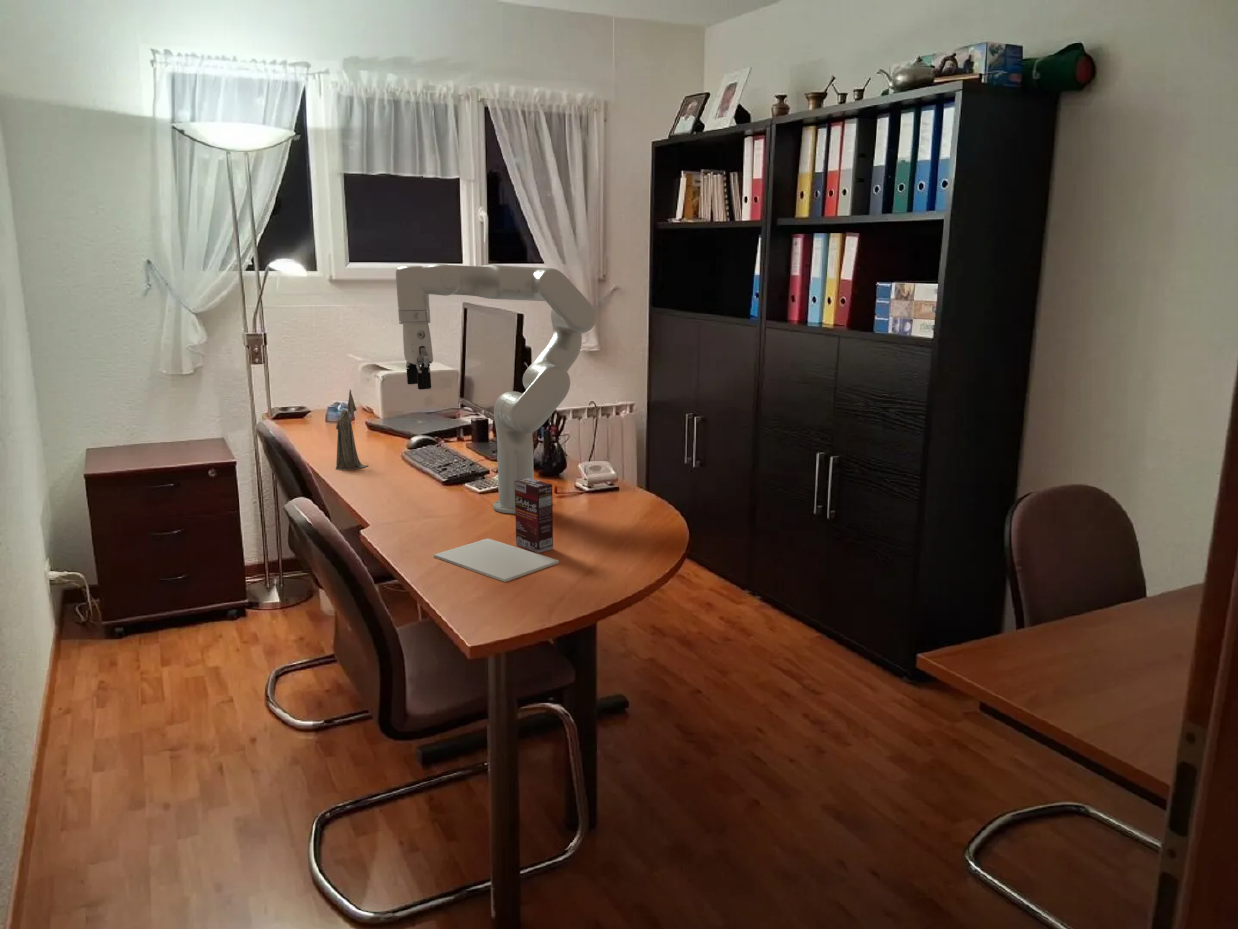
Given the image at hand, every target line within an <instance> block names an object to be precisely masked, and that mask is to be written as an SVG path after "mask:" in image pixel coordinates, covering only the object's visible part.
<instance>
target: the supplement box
mask: <svg viewBox="0 0 1238 929" xmlns="http://www.w3.org/2000/svg"><path fill="white" fill-rule="evenodd" d="M553 510H554V508H553V484H552V483H548V482H544V481H542V480H538V479H535V478H534V479H532V478H525V479H520V480H517V481H515V540H516V541H515V545H516V546H517V547H518V546H519V547H521V548H524V549H527V550H528V551H529V550H530V551H531V552H533V553H536V554H540V553H544V552H548V551H551V550H553V549H554V536H553V535H554V532H553V531H554V527H553V526H554V525H553V524H554V523H553V520H554V519H553V516H554V515H553V514H554V513H553Z"/></svg>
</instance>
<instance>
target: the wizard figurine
mask: <svg viewBox="0 0 1238 929" xmlns="http://www.w3.org/2000/svg"><path fill="white" fill-rule="evenodd" d="M348 394H349V396H348V402H347V407H346V408H347V409H346V408H345V409H342V410H341V411H340V415H339V418H338V419H337V423H336V425H335V430H337V443H336V445H337V446H336V462H335V463H336V466H335V470H339V471H340V470H341V471H354V470H359V469H363V468H366V467H368V464H367V465H364V464H362V462H361V461H360V458H359V455H358V452H357V447H356V443H355V442H356V441H355V437H354V430H353V426H352V421H353V419H352V417H351V418H350V416H349V415H354V413H355V412H356V411H357V407H356V404H355V401H354V398H353V394H352V389H349V393H348Z"/></svg>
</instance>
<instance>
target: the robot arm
mask: <svg viewBox="0 0 1238 929" xmlns="http://www.w3.org/2000/svg"><path fill="white" fill-rule="evenodd" d="M395 283H396V284H395V285H396V296H397V310H398V311H397V312H398V322H399V323H398V324H399V325H402V341H403V354H404V359H405V361H406V363H405V364H406V365H405V367H406V381H407V382H406V383H407V384H408V385H417V389H418V390H420V391H421V390H431V389H432V378H431V367H430V366H431V364H432V363H433V362H434V354H433V347H432V338H431V332H430V325H429V324H431V311H430V296H429V295H436V296H444V297H447V296H451V295H452V296H453V295H456V296H468V297H469V296H471V297H479V298H484V299H491V300H505V301H506V300H509V301H511V300H513V301H529V302H530V301H534V302H535V301H537V302H545V303H547V304H548V305H549V307H550V308H551V312H550V321H551V326H552V334H551V337H550V340H549V342H548V344H546V346H545V347H544V349H543V350H542V351H541V352H540V353H539V354H538V356H537V357H536V358H535V359H534V360H533V362H532V363H531V364H530V365H529V366H528V367H527V369H526V370H525V371H524V373H523V376H522V385H523V387H524V389H525V391H524V392H519V391H513V390H512V391H506V392H503V393H502V394H501V395H500V396H499V397H497V399H496V401H495V403H494V406H493V418H494V425H495V430H496V432H495V433H496V446H497V450H496V451H497V452H496V454H497V481H498V482H497V485H498V486H497V487H498V500H496V501H494V502H493V503H492V508H493V510H494V511H496V512H499V513H503V514H515V481H517V480H520V479H525V478H532V479H535V477H534V441H533V440H534V438H533V433H534V432H536V431H537V430H539V429H540V428H541V427H542V426H543V425H544V424H545V423H546V422H547V421H548V419H549V418H550V417H551V415H552V414H553V413H554V412H555V411H556V410H557V409H558V407H559V406H560V404H562V402H563V401H564V400H565V398H566V397H567V395H568V393H569V391H570V387H571V378H570V377H571V376H570V375H569V373H568V371H569V370H570V368H571V367H572V366H573V364H574V363H575V362H576V360H577V358H578V357H579V355H580V353H581V349H582V340H583V337H582V336H583V334H585V333H588V332H590V331H591V330H592V329H593V328H594V326H595V325H596V321H597V313H596V309H595V308H594V306H593V305H592V303H591V302H590V301H589V299H588V298H586V296H585V295H584V294H583V293H582V292H581V291H580V290H579V288H577V287H576V285H574V284H573V283H572V281H571V280H570V279H569V278H568V277H567V276H566V275H565V274H564V273H563V272H561V271H560V270H559V269H557V268H554V267H553V268H552V267H537V266H535V267H533V266H518V265H517V266H516V265H498V264H490V265H489V264H488V265H455V264H447V263H446V264H443V263H432V264H430V265H428V266H422V265H402V266H399V267H397V268H396V270H395Z"/></svg>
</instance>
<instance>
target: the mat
mask: <svg viewBox="0 0 1238 929" xmlns="http://www.w3.org/2000/svg"><path fill="white" fill-rule="evenodd" d="M433 558H435V559H438V560H442V561H444V562H447V563H450V564H452V565H455V566H458V567H462V568H464V569H466V570H469V571H472V572H475V573H478V574H481V575H483V576H487V577H488V578H491V579H494V580H497V581H501V582H503V583H507V582H510V581H512V580H514V579H517V578H518V579H519V578H521V577H523V576H526V575H528V574H532V573H535V572H537V571H541V570H543V569H546V568H548V567H551V566H554V565H557V564H560V561H559V559H555V558H552V557H549V556H547V555H543V554H540V553H537V552H534V551H531V550H530V551H529V550H528V549H527V550H526V549H525V548H524V549H523V548H519V547H518V546H513V545H511V544H508V543H504V542H501V541H498V540H494V539H491V538H488V537H487V538H484V539H480V540H478V541H474V542H471V543H467V544H464V545H460V546H457V547H453V548H452V549H447V550H445V551H441V552H437V553H434V554H433Z"/></svg>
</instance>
